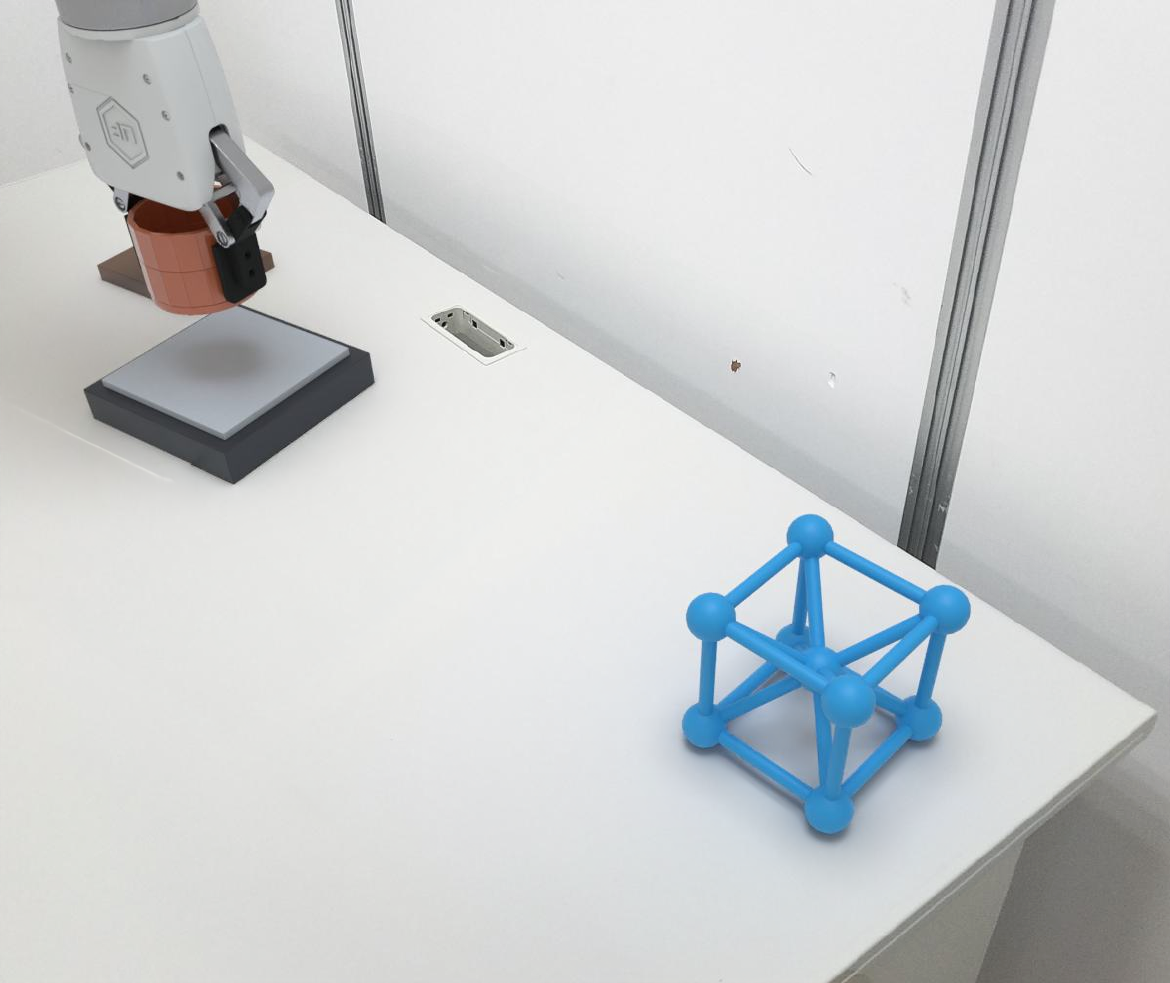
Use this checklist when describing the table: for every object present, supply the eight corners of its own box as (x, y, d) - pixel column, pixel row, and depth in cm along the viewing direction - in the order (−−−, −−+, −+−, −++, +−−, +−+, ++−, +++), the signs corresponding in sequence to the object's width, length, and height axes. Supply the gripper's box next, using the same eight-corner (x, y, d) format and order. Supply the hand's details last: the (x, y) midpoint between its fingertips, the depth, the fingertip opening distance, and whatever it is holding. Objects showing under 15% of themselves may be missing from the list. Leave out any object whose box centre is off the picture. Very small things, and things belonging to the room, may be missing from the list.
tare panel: (101, 280, 99) (90, 246, 97) (184, 236, 105) (175, 203, 103) (193, 316, 95) (183, 282, 93) (275, 268, 100) (267, 234, 98)
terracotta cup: (128, 297, 79) (103, 218, 75) (209, 251, 83) (189, 175, 80) (204, 326, 76) (181, 246, 72) (285, 278, 80) (267, 200, 77)
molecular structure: (790, 637, 67) (807, 498, 60) (947, 731, 62) (985, 590, 55) (671, 740, 62) (675, 600, 55) (832, 852, 57) (858, 712, 50)
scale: (87, 416, 85) (73, 379, 83) (233, 327, 93) (223, 291, 91) (233, 484, 79) (222, 446, 77) (375, 382, 87) (368, 345, 85)
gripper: (-28, -13, 69) (72, 269, 81) (180, 38, 61) (257, 340, 73) (78, -48, 73) (158, 224, 85) (285, -5, 66) (340, 287, 78)
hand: (203, 276), depth 79 cm, fingers closed on terracotta cup, 7 cm apart
